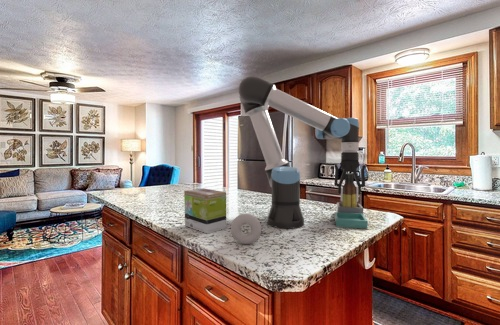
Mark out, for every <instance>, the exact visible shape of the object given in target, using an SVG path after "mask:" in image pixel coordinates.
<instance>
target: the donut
mask: <svg viewBox="0 0 500 325" xmlns="http://www.w3.org/2000/svg"><path fill="white" fill-rule="evenodd" d="M244 225H248V226H249V227H250V232H248V233H245V232H243V231H242V227H243V226H244ZM230 226H231V227H230V231H231V235H232V237H233V239H234V240H235V241H236V242H237V243H240V244H241V245H251V244H254V243H255V242H256V241H257V240H259V238H260V237H261V234H262V229H263V228H262V225H261V222H260V220H259V219H258V218H257V217H256V216H255V215H253V214H250V213H241V214H239V215H238V216H236V217H235V218H234V219H233V221H232V223H231V224H230Z"/></svg>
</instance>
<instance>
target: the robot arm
mask: <svg viewBox="0 0 500 325" xmlns="http://www.w3.org/2000/svg"><path fill="white" fill-rule="evenodd" d="M238 94H239V101H240V103H241V105H242V108H243V111H244V114H245V115H246V116H247V117H249V119H250V121H251V123H252V126H253V130H254V132H255V136H256V139H257V141H258V144H259V147H260V149H261V152H262V155H263V158H264V162H265V164H266V166H265V168H264V171H265V174H266V176H267V180H268V185H269V187H270V188H271V206H270V209H269V212H268V214H267V220H266V222H267V224H268V226H270V227H273V228H278V229H279V228H280V229H297V228H300V227H302V226H304V225H305V219H304V214H303V211H302V208H301V204H300V201H301V200H300V198H301V197H300V196H301V194H300V193H301V192H300V191H301V190H300V188H301V175H300V174H301V173H300V169H298V168H297V167H293V166H291V165H290V162H289V160H286V159H285V158H284V156H283V153H282V149H281V145H280V144H279V140H278V137H277V134H276V131H275V128H274V126H273V123H272V120H271V117H270V114H269V109H270V108H269V107H271V108H273V109H274V110H277V111H278V112H282V113H283V114H285V115H287V116H289V117H291V118H294V119H296V120H298V121H300V122H302V123H304V124H306V125H308V126H310V127H313V128H315V129H314V133H315V134H314V135H315V138H316V139H317V140H318V139H319V140H340V142H341V146H340V147H341V148H340V149H341V153H340V154H341V155H340V158H341V159H340V160H341V161H340V163H338V164H334V169H335V172H334V186H335V187H337V190H338V192H337V194H339V195H340V202H342V201H343V186H342V185H343V184H344V183H343V182H344V181H345V174H346V173H349V172H350V173H353V174H354V179H355V180H354V181H355V182H356V185H357V186H356V202H357V203H359V195H361V194H362V188H364V187H366V175H365V169H366V167H367V166H366V165H365V164H361V163H360V162H359V161H360V160H359V157H360V156H359V154H360V153H359V152H358V151H359V148H360V147H359V144H360V143H359V142H360V140H359V139H360V138H359V137H360V133H359V132H360V122H359V118H357V117H346V118H344V117H336V116H334V115H332V114H330V113H327V111H323V110H322V109H320V108H317V107H315V105H311V104H309V103H308V102H306V101H303V100H301V99H299V98H297V97H294V96H292V95H291V94H289V93H287V92H284V91H282V90H280V89H278V88H277V87H276V84H274V83H272V82H269V81H268V80H266V79H264V78H262V77H261V76H260V77H259V76H255V75H249V76H246V77H244V78H243V79H242V80H241V82H240V83H239V86H238ZM340 167H341V168H342V169H343V170H342V173H341V176H340V178H338V177H339V169H341V168H340ZM358 168H359V169H360V177H361V180H360V179H359V175H358V172H357V169H358ZM338 179H340V180H339V182H338ZM360 181H361V182H360Z"/></svg>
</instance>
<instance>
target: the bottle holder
mask: <svg viewBox="0 0 500 325" xmlns="http://www.w3.org/2000/svg"><path fill="white" fill-rule="evenodd" d="M336 212H340V213H358V214H363V215H364V207H363V206H362V204H361V203H357V207H343V203H342V202H336Z"/></svg>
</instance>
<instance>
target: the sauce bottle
mask: <svg viewBox="0 0 500 325" xmlns="http://www.w3.org/2000/svg"><path fill="white" fill-rule="evenodd" d="M354 179H355V177H354V174H353V172H350V173H349V172H346V174H345V177H344V183H343V186H342V187H343V201H341V203H343V207H357V204H358V202H356V187H357V186H356V184H355V183H354V181H355V180H354Z"/></svg>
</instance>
